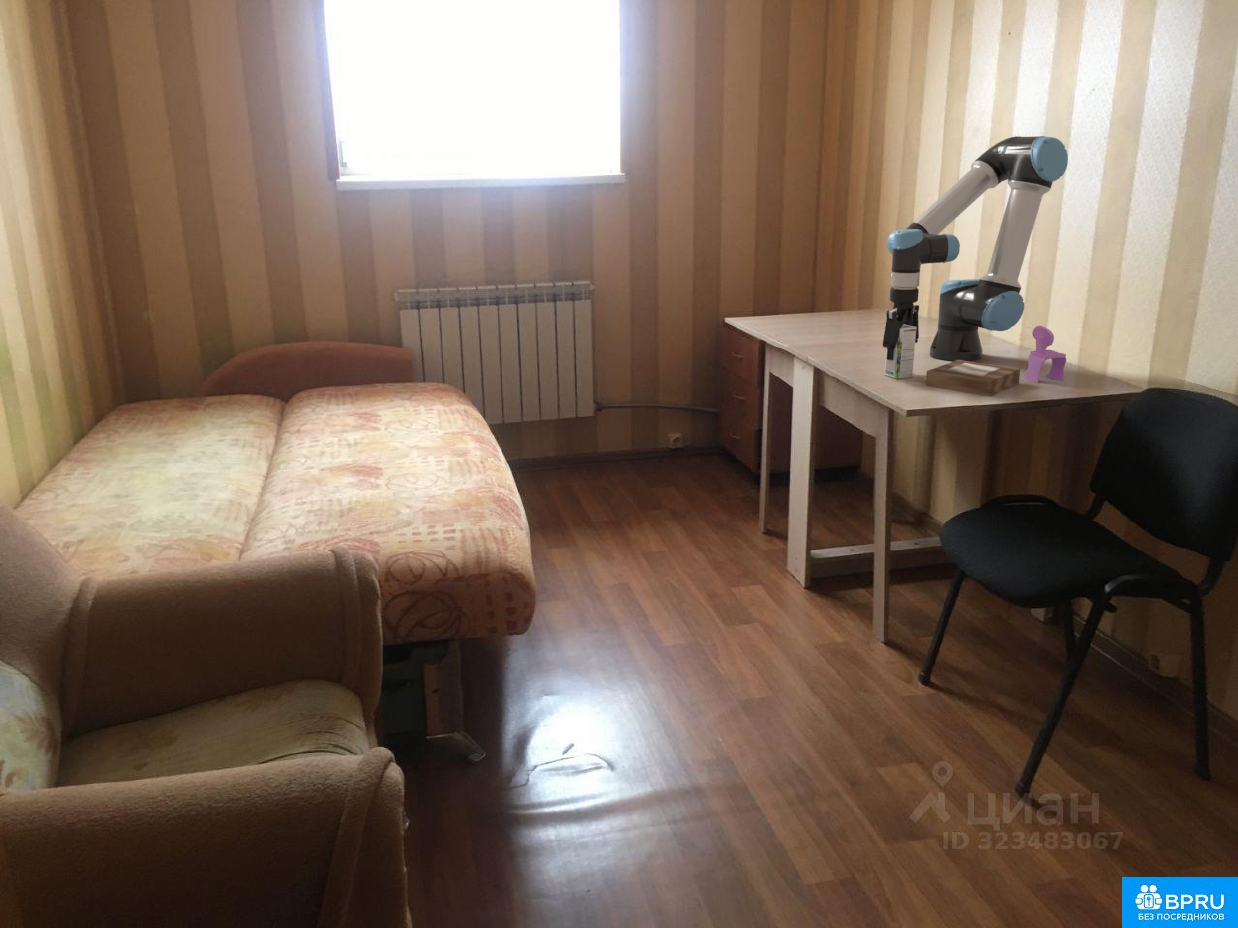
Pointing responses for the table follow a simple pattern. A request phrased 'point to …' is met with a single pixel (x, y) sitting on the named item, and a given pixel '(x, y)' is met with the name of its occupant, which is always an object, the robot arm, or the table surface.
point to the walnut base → (973, 377)
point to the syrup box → (904, 353)
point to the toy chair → (1044, 356)
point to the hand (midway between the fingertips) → (899, 368)
